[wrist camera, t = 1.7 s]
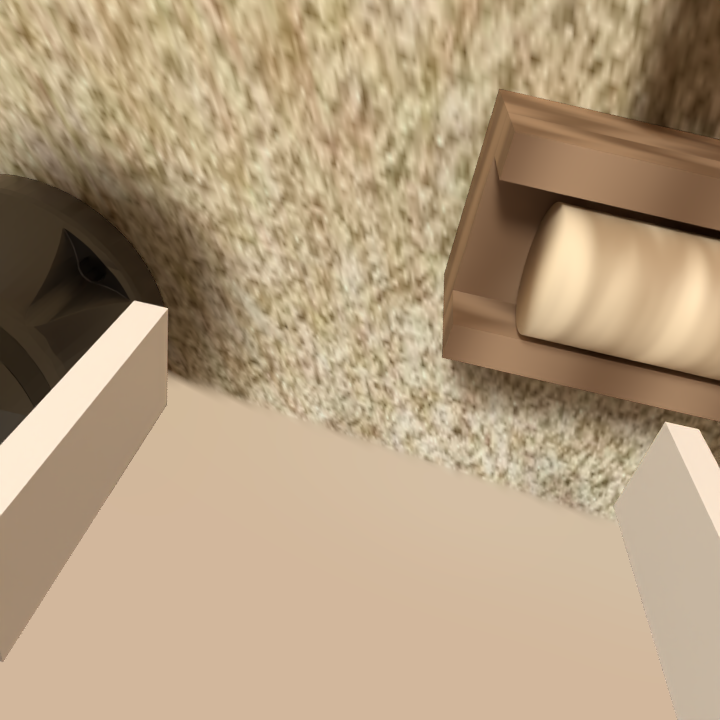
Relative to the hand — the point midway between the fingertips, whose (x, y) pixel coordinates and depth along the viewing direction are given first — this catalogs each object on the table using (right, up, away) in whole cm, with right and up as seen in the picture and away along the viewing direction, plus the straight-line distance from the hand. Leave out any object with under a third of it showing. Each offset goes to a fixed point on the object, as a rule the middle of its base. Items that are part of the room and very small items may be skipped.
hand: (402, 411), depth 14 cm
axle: (+15, +4, +11) cm, 19 cm away
